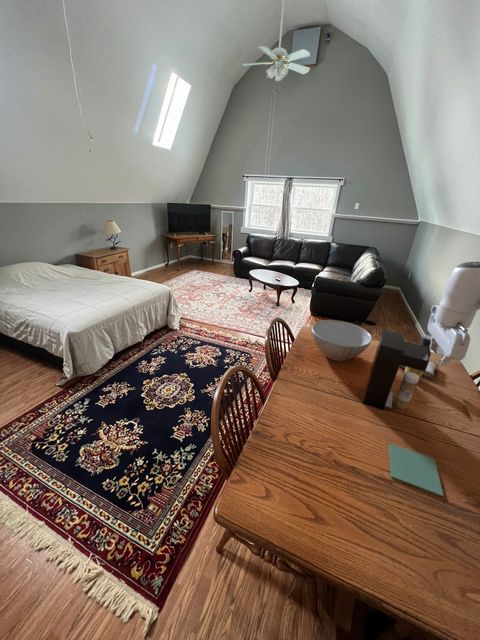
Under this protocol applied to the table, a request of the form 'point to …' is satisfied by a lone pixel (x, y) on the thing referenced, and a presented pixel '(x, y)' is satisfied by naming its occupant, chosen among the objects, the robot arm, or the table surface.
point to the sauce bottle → (426, 342)
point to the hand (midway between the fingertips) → (437, 356)
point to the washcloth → (427, 369)
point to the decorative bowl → (340, 339)
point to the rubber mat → (414, 469)
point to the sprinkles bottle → (406, 390)
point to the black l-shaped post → (391, 367)
